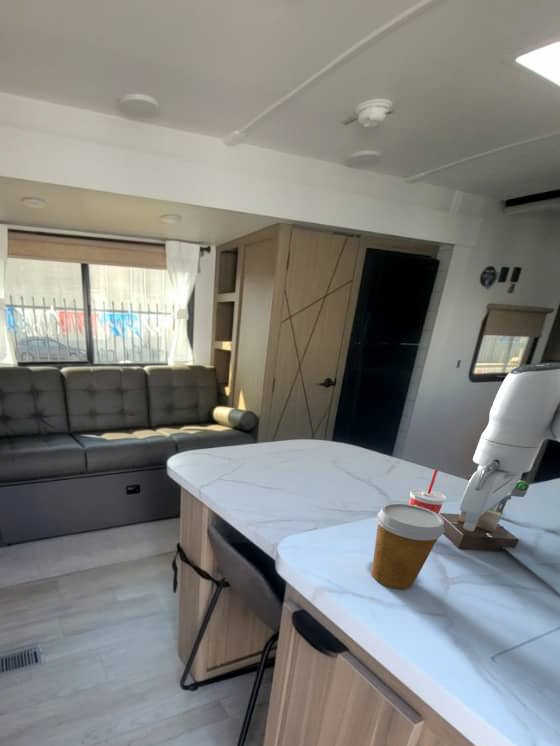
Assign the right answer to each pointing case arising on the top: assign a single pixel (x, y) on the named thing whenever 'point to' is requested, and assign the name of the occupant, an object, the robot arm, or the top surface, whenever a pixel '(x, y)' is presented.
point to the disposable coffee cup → (404, 543)
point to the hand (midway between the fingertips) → (477, 522)
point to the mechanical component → (513, 494)
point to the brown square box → (477, 536)
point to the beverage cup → (428, 497)
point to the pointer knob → (485, 520)
